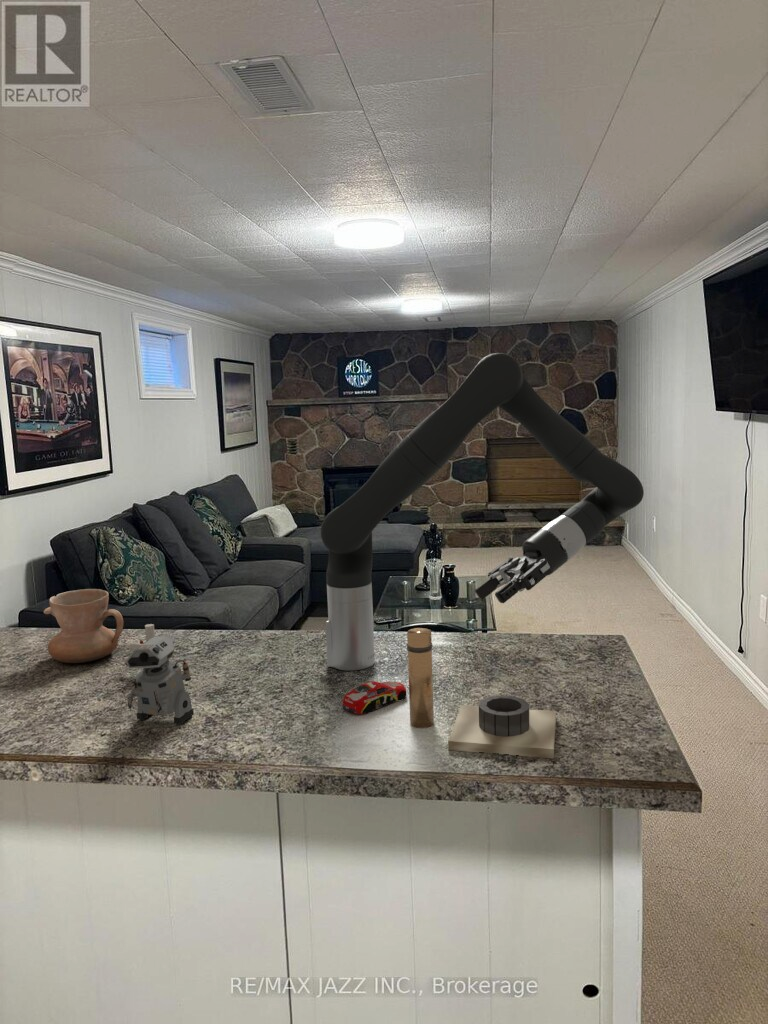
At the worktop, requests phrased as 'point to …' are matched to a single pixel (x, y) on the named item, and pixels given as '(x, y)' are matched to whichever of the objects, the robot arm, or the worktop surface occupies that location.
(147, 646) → the figurine
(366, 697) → the race car
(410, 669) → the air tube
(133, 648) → the pipe connector
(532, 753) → the collar plate
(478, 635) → the worktop surface
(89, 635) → the ceramic jug
